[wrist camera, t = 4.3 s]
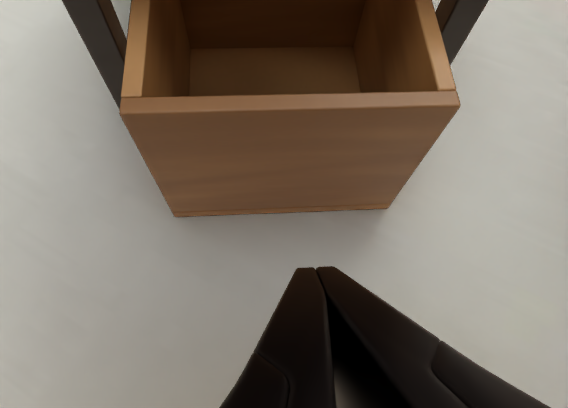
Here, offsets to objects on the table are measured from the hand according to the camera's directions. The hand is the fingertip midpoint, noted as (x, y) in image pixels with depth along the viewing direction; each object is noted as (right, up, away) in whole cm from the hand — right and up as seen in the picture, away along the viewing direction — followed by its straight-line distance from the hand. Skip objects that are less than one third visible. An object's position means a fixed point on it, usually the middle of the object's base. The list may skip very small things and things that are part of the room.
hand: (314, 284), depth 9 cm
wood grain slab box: (-1, +6, +12) cm, 14 cm away
